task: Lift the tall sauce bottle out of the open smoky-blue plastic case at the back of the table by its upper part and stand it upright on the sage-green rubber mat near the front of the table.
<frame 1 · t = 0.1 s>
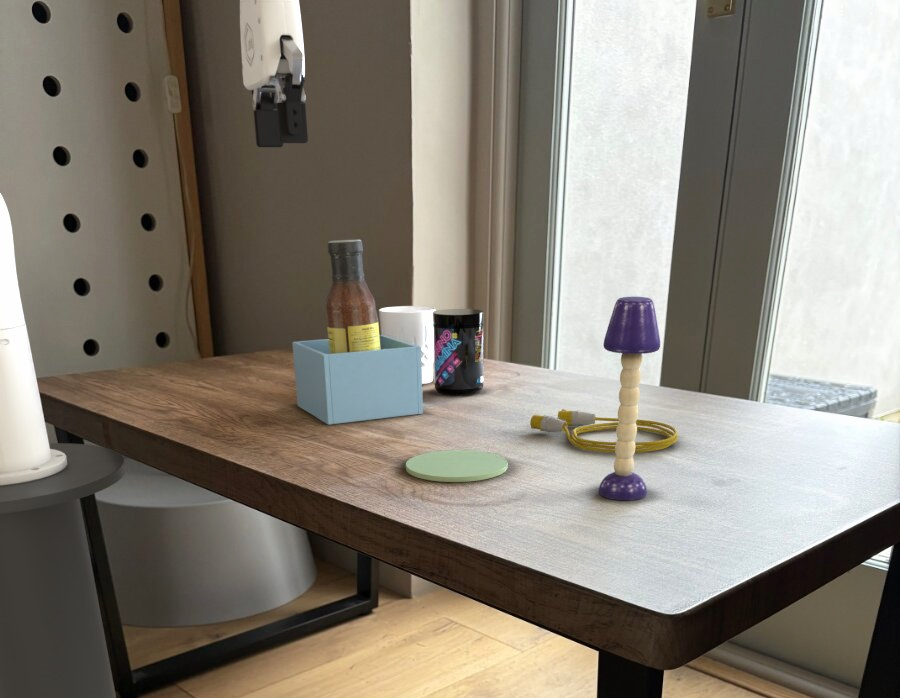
hand: (281, 145, 109), 30 cm above the table, tool pointing down, fingers open, 9 cm apart
case: (358, 409, 116), on the table
white cup: (409, 383, 133), on the table
supplement container: (459, 392, 126), on the table
mat: (456, 467, 91), on the table
extension cord: (608, 438, 101), on the table
sauce bottle: (358, 411, 116), resting in case
toy lamp: (621, 496, 82), on the table
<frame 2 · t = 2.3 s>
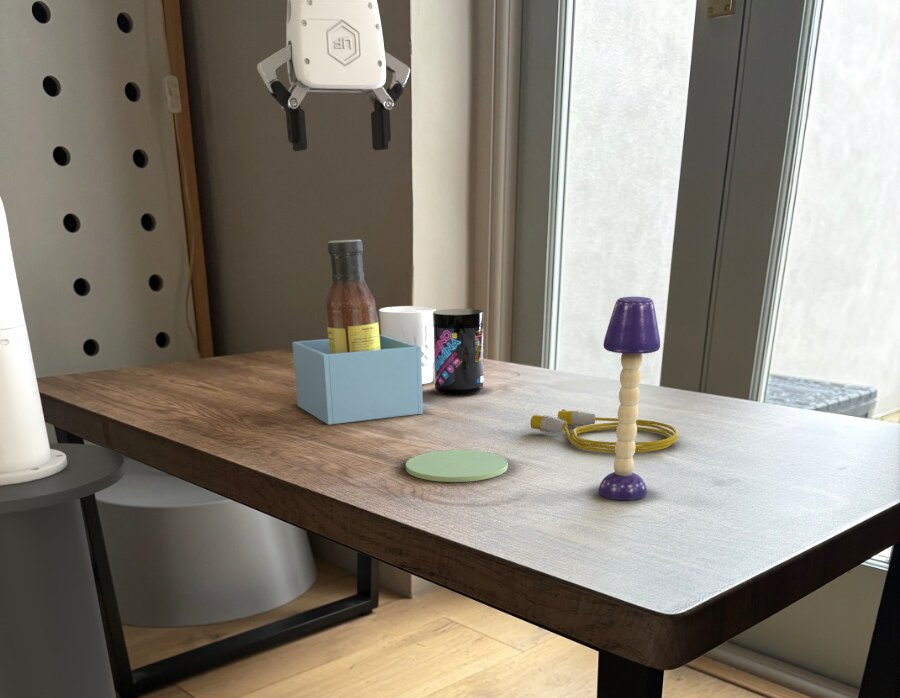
hand: (341, 150, 105), 29 cm above the table, tool pointing down, fingers open, 9 cm apart
nothing on the table moved.
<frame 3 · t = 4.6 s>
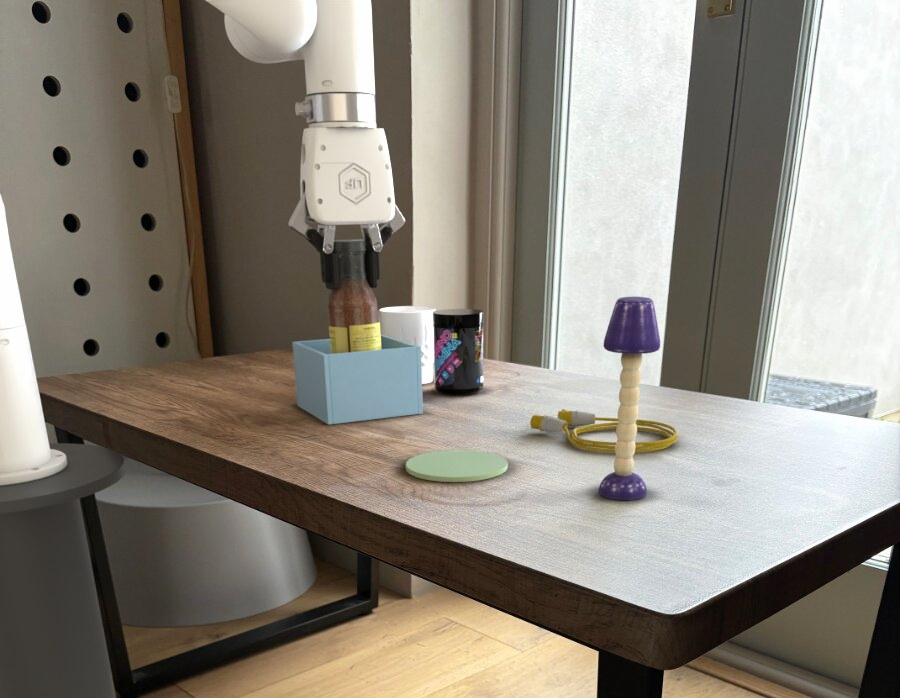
hand: (351, 286, 110), 15 cm above the table, tool pointing down, fingers closed on sauce bottle, 4 cm apart
sauce bottle: (358, 410, 116), resting in case, touching gripper
everything else where it was.
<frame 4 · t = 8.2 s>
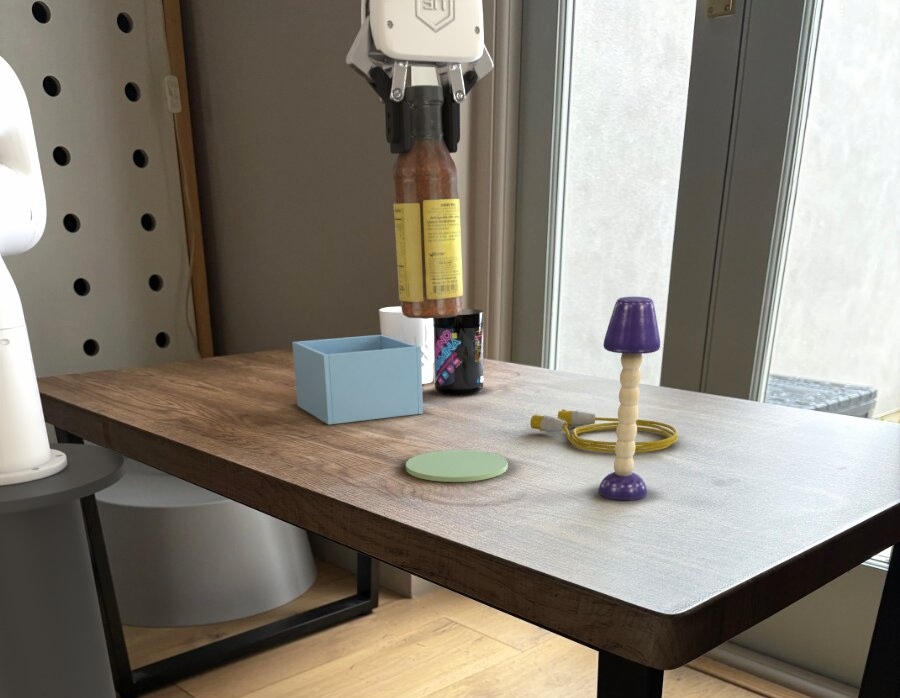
hand: (423, 150, 85), 28 cm above the table, tool pointing down, fingers closed on sauce bottle, 4 cm apart
sauce bottle: (429, 318, 91), point 13 cm above the table, touching gripper
everything else where it was.
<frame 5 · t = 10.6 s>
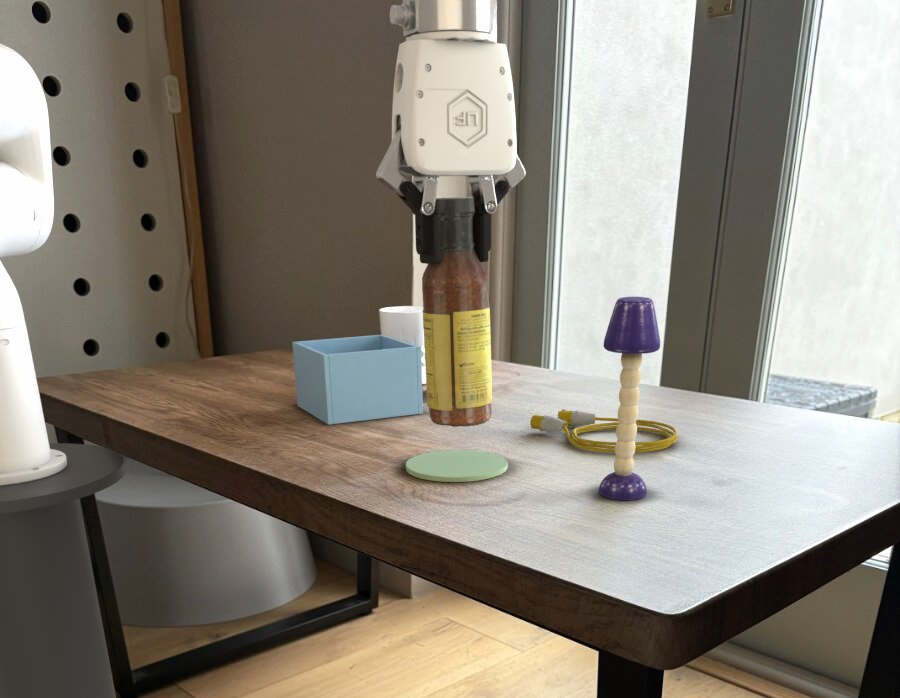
hand: (454, 260, 83), 19 cm above the table, tool pointing down, fingers closed on sauce bottle, 4 cm apart
sauce bottle: (458, 423, 89), point 4 cm above the table, touching gripper
everything else where it was.
when the fingers open (15 cm above the table, at t = 12.0 s): sauce bottle stays where it is, resting on mat.
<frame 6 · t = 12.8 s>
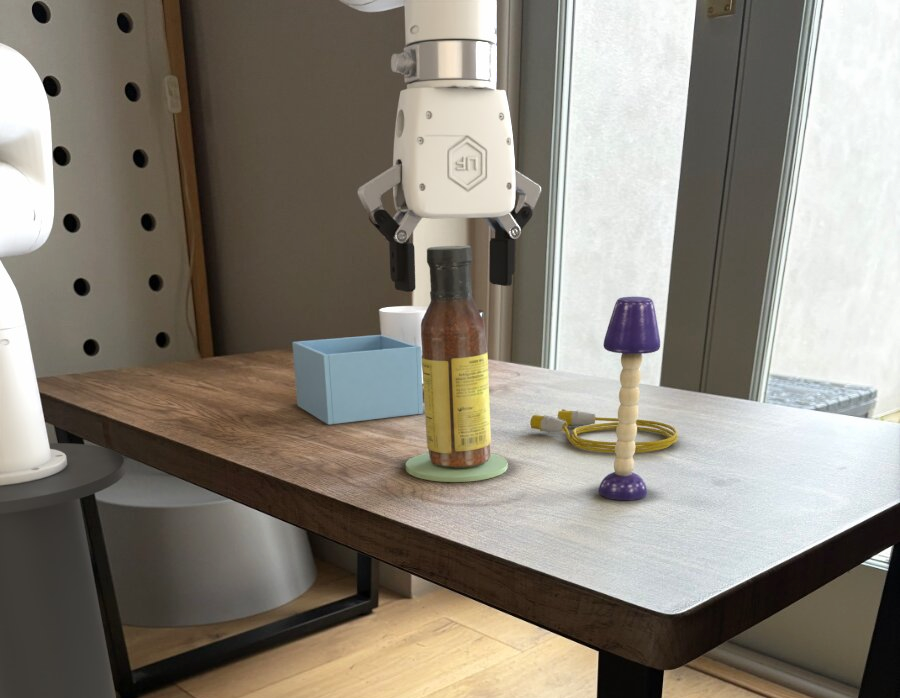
hand: (453, 287, 84), 17 cm above the table, tool pointing down, fingers open, 9 cm apart
sauce bottle: (457, 464, 91), resting on mat
everything else where it was.
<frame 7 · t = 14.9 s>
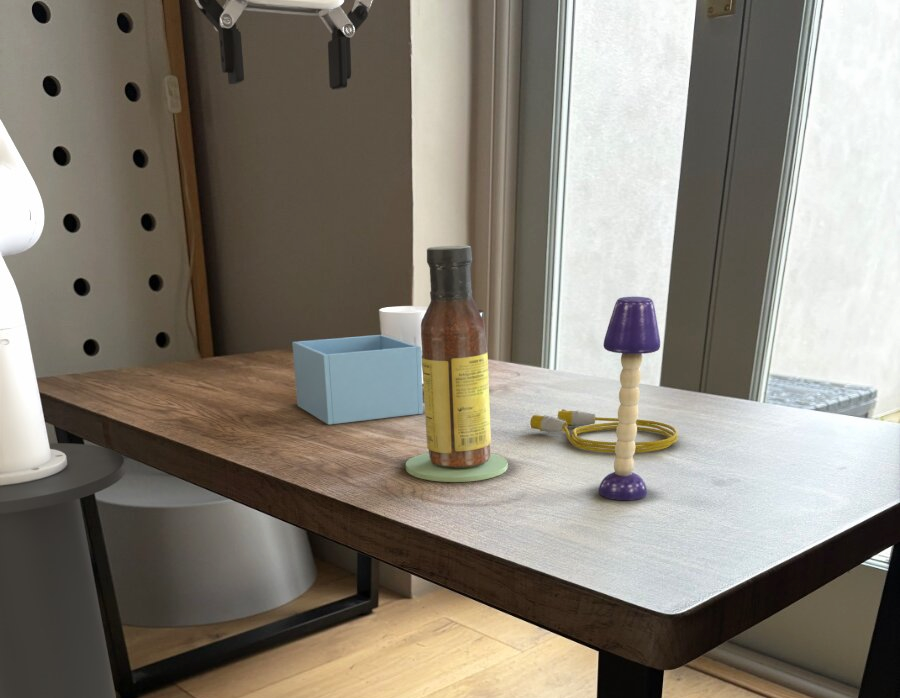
hand: (288, 85, 85), 34 cm above the table, tool pointing down, fingers open, 9 cm apart
nothing on the table moved.
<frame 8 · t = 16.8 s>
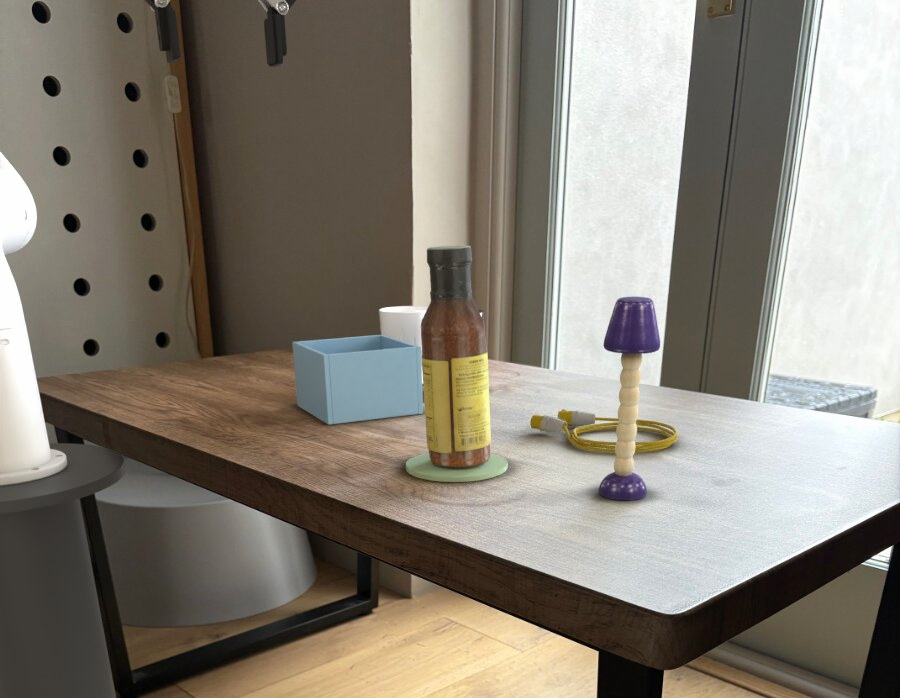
hand: (225, 63, 88), 36 cm above the table, tool pointing down, fingers open, 9 cm apart
nothing on the table moved.
at the end: sauce bottle 0.1 cm from the mat (horizontally); sauce bottle tilted 0°; sauce bottle touching mat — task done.
